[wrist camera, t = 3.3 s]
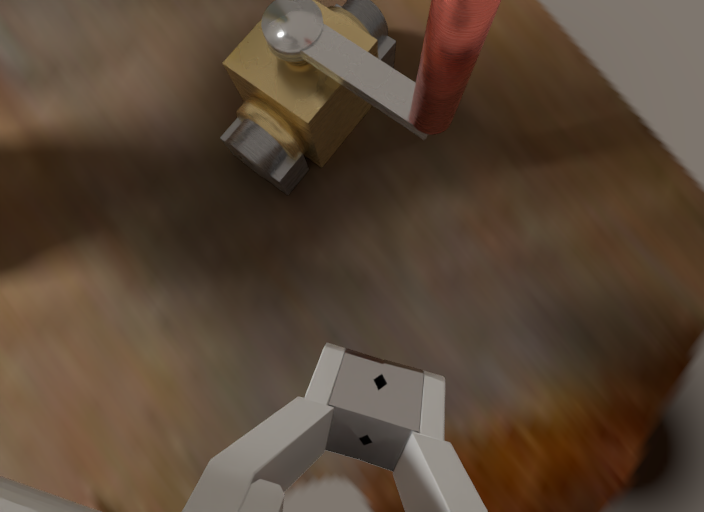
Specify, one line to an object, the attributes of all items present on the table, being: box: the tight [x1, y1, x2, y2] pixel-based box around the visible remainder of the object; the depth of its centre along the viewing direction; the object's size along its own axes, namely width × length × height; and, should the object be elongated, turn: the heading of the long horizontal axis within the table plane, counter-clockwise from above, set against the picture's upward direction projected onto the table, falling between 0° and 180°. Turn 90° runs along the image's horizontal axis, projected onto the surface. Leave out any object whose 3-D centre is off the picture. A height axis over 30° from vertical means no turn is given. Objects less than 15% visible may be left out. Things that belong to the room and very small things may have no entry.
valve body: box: [220, 0, 396, 195], centre depth 30 cm, size 16×8×9 cm, turn 142°
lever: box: [261, 0, 501, 140], centre depth 19 cm, size 14×4×11 cm, turn 52°
